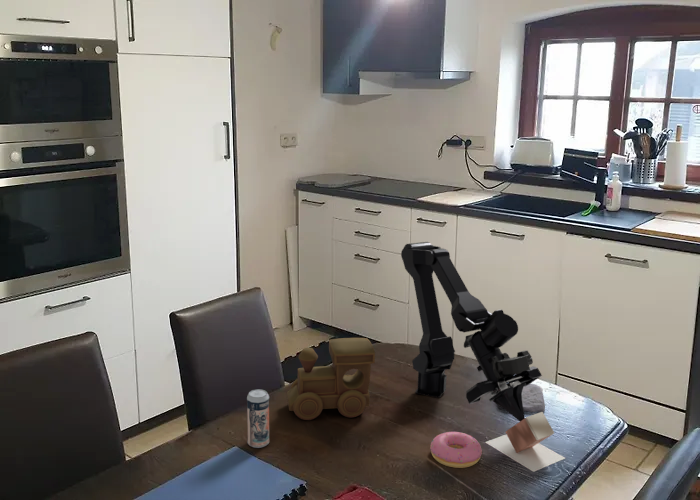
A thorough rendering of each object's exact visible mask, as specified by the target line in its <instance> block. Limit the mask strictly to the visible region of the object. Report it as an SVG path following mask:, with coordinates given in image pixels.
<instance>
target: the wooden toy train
mask: <svg viewBox="0 0 700 500" xmlns="http://www.w3.org/2000/svg"><path fill="white" fill-rule="evenodd" d="M328 352H329V356H330V358H331V363H332V366H329V365H328V366H323V365H321V366H315V364H316V363H317V360H318V358H319V355H318V354H317V353H316V351H315V350H314V348H313V347H304V348H303V349H302V350H301V352H300V353H299V355H298V357H297V358H298V360H299V362H300V364H301V366H302V367H299V368H297V378H296V379H295V380H294V381H293V382H292V384H291V386H290V387H289V388H290V389H289V390H288V391H286V398H287V399H286V400H287V405H288V410H289V412H290V411H291V412H292V411H293V412H294V414H295V416H297V417H298V418H299V419H301V420H304V421H311V420H314V419H316V418H318V417H319V416H320V415H321V413H322V411H323V410H326V409H329V410H330V409H337V410H338V412H339V413H340V415H342V416H344V417H345V418H356V417H358V416H360V415H362V414H363V413H364V411H365V410H366V407H370V398H371V397H370V395H371V394H370V391H369V389H370V382H371V370H372V369H371V368H372V367H371V365H373V364H375V361H376V352H375V348H374V345H373V344H372V342H371V341H370V340H369V339H368V338H367V337H366V338H365V337H343V338H341V337H340V338H332V339H329V340H328ZM350 370H356V371H355V372H354V373H353V374H352V375H351V374H346V373H347V372H349V371H350Z"/></svg>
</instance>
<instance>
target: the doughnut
mask: <svg viewBox="0 0 700 500" xmlns="http://www.w3.org/2000/svg"><path fill="white" fill-rule="evenodd" d="M429 447H430V451H431V452H430V453H431V455H432V457H433V458H434V460H435V461H436V462H438V463H439V464H441V465H443V466H445V467H449V468H456V469H465V468H469V467H472V466H474V465H475V464H477V463H478V462H479V461H480V460H481V458H482V457H481V456H482V453H483V450H482V446H481V444H480V442H479V441H478V440H477V439H476V438H475V437H473V435H470V434H467V433H464V432H459V431H447V432H446V431H445V432H441V433H440V434H437V435H436V436H435V437H434V438H433V439H432V440H431V443H430V445H429Z"/></svg>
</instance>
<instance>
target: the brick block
mask: <svg viewBox="0 0 700 500" xmlns="http://www.w3.org/2000/svg"><path fill="white" fill-rule="evenodd" d="M506 434H507V436H508V438H509V440H510V442H511V444H512V445H513V447H514V449H515V451H516V453H518V452H521V451H523V450H526V449H528V448H531V447H533V446H535V445H536V444H538V443H540V444H541V442H543V441H544V440H546V439H548V438H550V437H551V436H552V435H554V434H555V431H554V430H553V428H552V426H551V424H550V423H549V421H548V419H547V417H546V415H545V414H544V411H543V412H536V413H534V414H532V415H529V416H527V417H525V419H523V420H522V421H519V422H518V423H516V424H515V425H513V426H512V427H510V428H508V429H507V430H506V431H505V435H506Z"/></svg>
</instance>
